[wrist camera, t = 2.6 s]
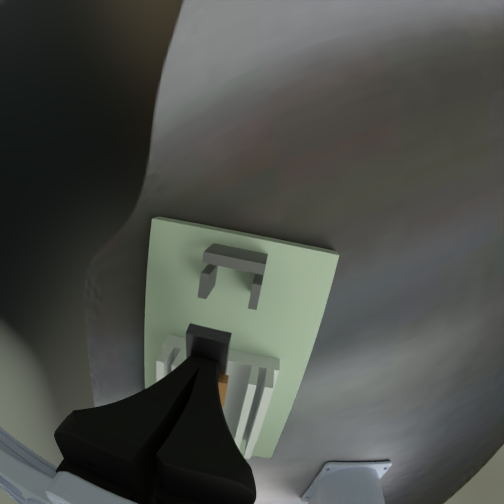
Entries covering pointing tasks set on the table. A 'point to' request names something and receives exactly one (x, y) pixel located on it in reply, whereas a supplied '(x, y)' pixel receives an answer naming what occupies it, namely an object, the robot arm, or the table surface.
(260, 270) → the heatsink board
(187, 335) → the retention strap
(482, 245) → the table surface
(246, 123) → the table surface
